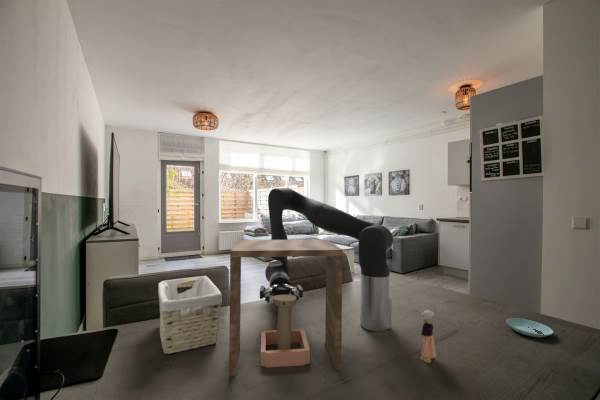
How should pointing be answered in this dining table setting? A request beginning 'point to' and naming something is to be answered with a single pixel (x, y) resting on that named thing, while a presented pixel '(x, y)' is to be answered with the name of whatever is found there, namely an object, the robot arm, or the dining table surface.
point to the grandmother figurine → (427, 337)
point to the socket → (284, 356)
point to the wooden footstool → (289, 250)
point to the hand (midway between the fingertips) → (282, 299)
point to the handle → (284, 320)
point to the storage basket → (188, 313)
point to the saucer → (523, 325)
